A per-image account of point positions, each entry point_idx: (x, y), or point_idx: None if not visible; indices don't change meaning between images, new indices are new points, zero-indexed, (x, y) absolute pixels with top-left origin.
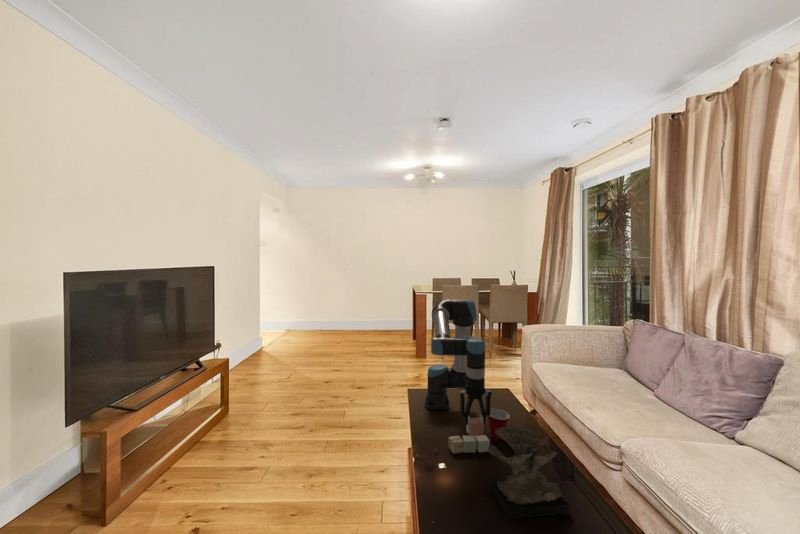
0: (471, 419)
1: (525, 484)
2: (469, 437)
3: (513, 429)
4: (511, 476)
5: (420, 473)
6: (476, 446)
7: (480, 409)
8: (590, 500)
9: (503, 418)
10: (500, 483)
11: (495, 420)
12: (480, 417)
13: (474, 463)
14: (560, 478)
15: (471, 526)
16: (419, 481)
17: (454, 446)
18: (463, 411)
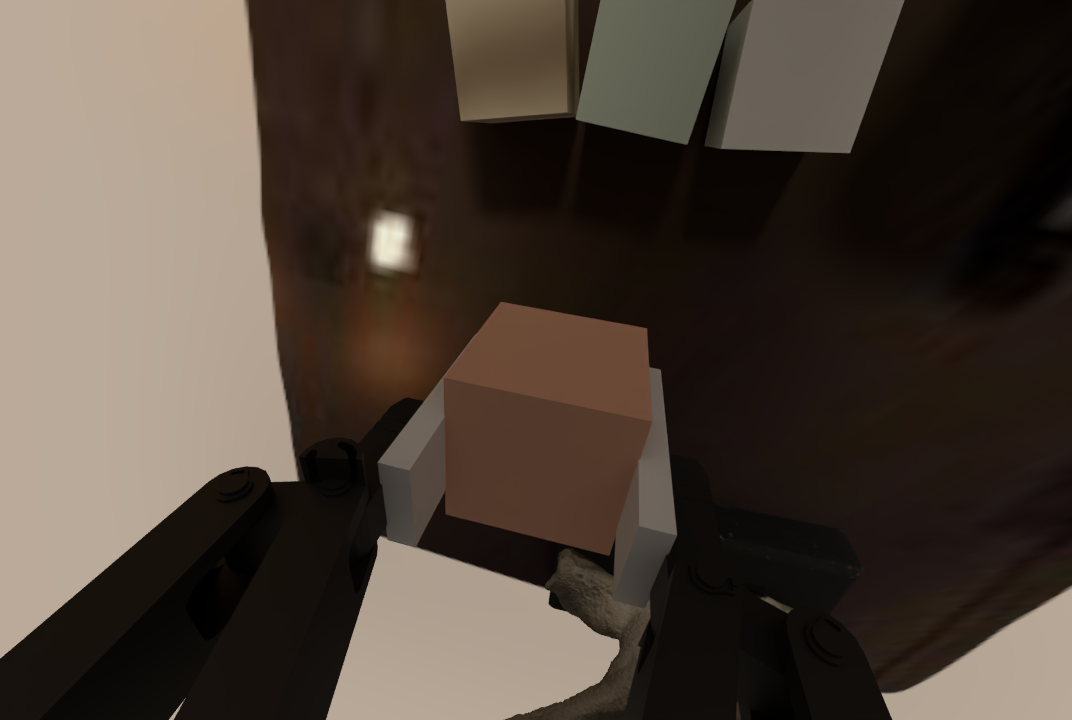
0: (497, 430)
1: None
2: (666, 36)
3: None
4: (607, 635)
5: (278, 284)
6: (721, 80)
7: (651, 666)
8: (948, 626)
9: None
10: (557, 591)
11: None
12: (626, 534)
13: (592, 274)
14: (998, 516)
15: (433, 550)
16: (277, 337)
17: (484, 121)
18: (218, 631)
